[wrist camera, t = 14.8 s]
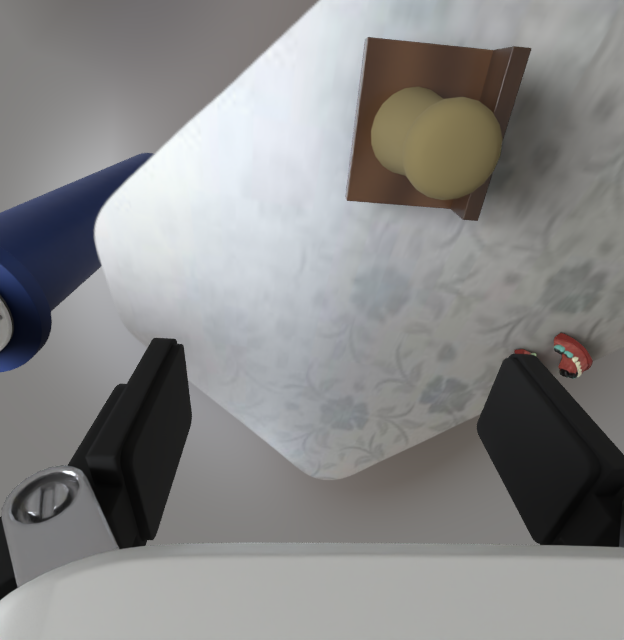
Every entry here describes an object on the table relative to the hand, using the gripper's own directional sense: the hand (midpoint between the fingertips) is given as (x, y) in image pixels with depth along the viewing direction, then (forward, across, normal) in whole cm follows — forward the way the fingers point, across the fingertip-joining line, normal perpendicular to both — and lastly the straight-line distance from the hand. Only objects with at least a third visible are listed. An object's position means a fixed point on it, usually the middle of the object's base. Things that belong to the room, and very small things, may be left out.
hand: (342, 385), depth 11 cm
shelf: (+28, -8, -5) cm, 30 cm away
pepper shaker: (+24, -7, -5) cm, 25 cm away
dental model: (+26, -33, +16) cm, 45 cm away
